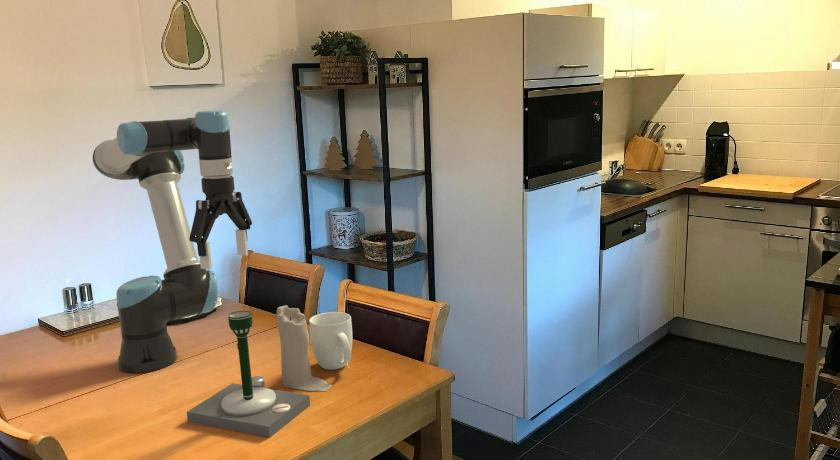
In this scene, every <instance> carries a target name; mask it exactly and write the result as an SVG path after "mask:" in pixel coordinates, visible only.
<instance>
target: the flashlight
mask: <svg viewBox="0 0 840 460" xmlns="http://www.w3.org/2000/svg"><path fill="white" fill-rule="evenodd" d="M227 319H228V327H229V328H230V331H231V332H232V333H233V334H234V335H235V336H236V341H237V343H236V346H237V348H236V349H237V351H238V359H239V360H238V361H239V369H240V377H241V380H240V381H241V385H242V389H243V398H244V399H245V400H250V399H252V398H253V388H252V378H251V377H252V372H251V371H252V369H251V360H250V353H249V352H250V349H249V340H248V334H249V333H250V332H251V329H252V327H253V315H252V312H251V311H249V310H237V311H234V312H231V313H229V314H228V318H227Z"/></svg>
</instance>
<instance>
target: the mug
mask: <svg viewBox="0 0 840 460" xmlns="http://www.w3.org/2000/svg"><path fill="white" fill-rule="evenodd" d="M308 320H309V338H310V343H311V350H312V351H313V356H314V358H315V360H316V362H317V364H318V365H319V366H320V367H321V368H322V369H324V370H329V371H331V370H334V371H335V370H339V369H342V368H344V367H346V365H347V364H349V363H350V362H351V360H352V349H353V327H352V326H353V324H352V316H351V315H350V314H349V313H346V312H341V311H329V312H323V313H318V314H315V315H313V316H312V317H310V318H309V319H308Z"/></svg>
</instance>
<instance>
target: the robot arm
mask: <svg viewBox="0 0 840 460" xmlns="http://www.w3.org/2000/svg"><path fill="white" fill-rule="evenodd" d="M228 115H229V114H228V113H227V112H226V111H225V110H202V111H197V112H196V113H195V115H194V116H193V117H186V118H180V119H179V118H178V119H165V120H163V119H162V120H149V121H147V120H146V121H136V120H134V121H129V122H122V123H120V124H119V125H118V127H117V130H116V137H114V138H113V139H107V140H104V141H102V142H101V143H99V144H98V145H97V146H96V147H95V148H94V150H93V153H92V164H93V166H94V168H95V169H96V170H97V171H98V173H100V174H101V175H103V176H104V177H107V178H110V179H113V180H118V181H128V180H129V181H130V180H138V184H139V186H140V187H141V188H142V189H144V190H146V193H147V195H148V198H149V199H148V200H149V203H150V207H151V212H152V214H153V218H154V222H155V226H156V229H157V233H158V238H159V242H160V244H161V248H162V249H161V250H162V252H163V256H164V262H165V265H166V269H165V270H164V272H163V279H162V278H161V277H160V276H158V275H148V276H141V277H135V278H133V279H131V280H129V281H126V282H124V283H122V285H120V286H119V287H118V288H117V290H116V294H115V295H116V307H117V312H118V319H119V326H120V334H121V344H120V350H119V351H120V352H119V355H118V358H117V363H118V369H119V370H120V371H121V372H123V373H124V372H125V373H131V374H139V373H140V374H141V373H148V372H153V371H157V370H161V369H163V368H165V367H169V366H170V365H172V364H173V363H174V362H176V360H178V354H177V353H178V352H177V349H176V347H175V346H174V343H173V341H172V338H171V336H170V335H169V332H168V327H167V326H168V325H167V323H166V322H167V321H171V320H176V319H180V318H184V317H188V316H192V315H197V314H198V315H200V314H202V313H205V312H208V311H211V310H213V309H214V308H215V306H216V304H217V300H218V297H219V284H218V283H219V282H218V279H217V276H216V274H215V272H214V271H213V270H212V269H213V267H212V258H211V257H212V256H211V255H212V254H211V245H210V244H211V243H210V242H208V238H209V237H210V235H211V231H212V230H213V227H214V224H215V222H216V220H217V219H218V218H219V217H220V216H223V215H224V214H226V215H227V217H228V218H229V219H230V220H231V221H232V223H233V224H234V225H235V227H236V228H237V229H235V239H236V240H235V241H236V243H235V244H236V252H237V256H249V253H248V252H249V251H248V232H247V231H248V230H250V229H251V226H252V225H253V221H252V219H251V218H252V217H251V216H250V213H249V212H248V210H247V207H246V206H245V202H244V201H243V197H242V196H243V195H242V191H235V189H236V187H235V178H234V177H235V176H232V174H233V173H234V168H233V161H232V160H233V159H232V157H233V156H232V144H231V143H232V142H231V130H230V128H231V125H230V121H229V116H228ZM190 150H197V151H198V161H199V171H200V176H202V178H201V179H200V180H201V181H200V182H201V190H202V191H201V192H202V193H203V194H204V195H205V200H204V199H203V200H202V199H197V200H196V201H195V213H194V217H193V222H192V226H191V229H190V225H189V222H188V219H187V215H186V211H185V207H184V203H183V200H182V195H181V193H180V189H179V185H178V183H179V182H180V181H181V179H182V177H181V175H182V174H183V173H184V171H185V162H184V161H185V157H184V155H183V151H190ZM194 243H196V247H197V252H196V248H195V245H194ZM198 257H199V259H198ZM214 310H215V309H214ZM214 310H213V311H214ZM211 312H212V311H211Z"/></svg>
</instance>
